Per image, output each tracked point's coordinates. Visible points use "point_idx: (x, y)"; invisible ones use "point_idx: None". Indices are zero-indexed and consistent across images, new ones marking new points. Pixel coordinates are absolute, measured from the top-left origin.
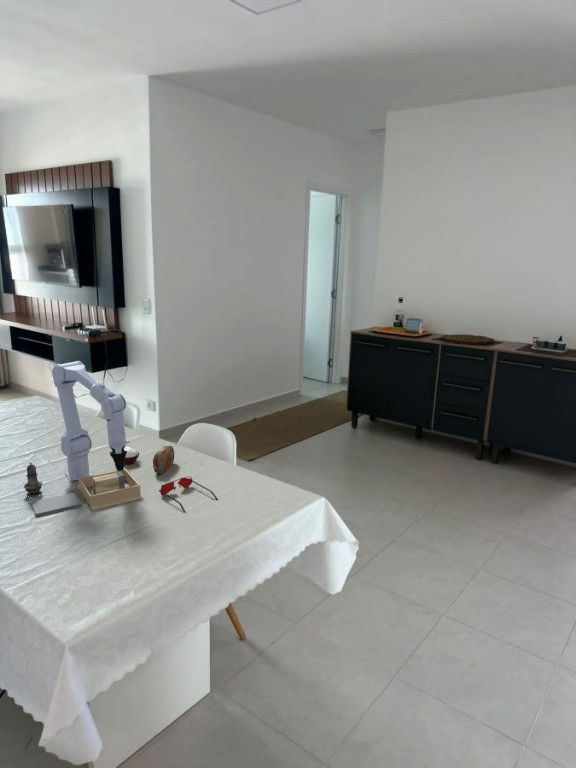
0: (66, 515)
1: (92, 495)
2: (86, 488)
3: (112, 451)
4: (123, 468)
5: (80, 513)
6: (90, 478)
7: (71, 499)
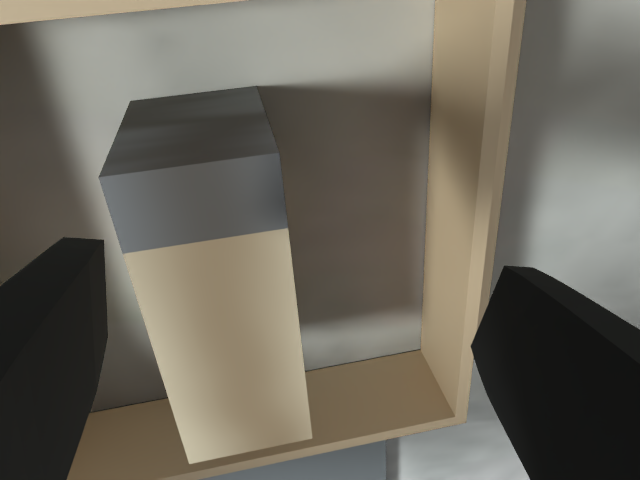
0: (450, 456)
1: (460, 409)
2: (299, 450)
3: None
4: (552, 279)
5: (472, 401)
6: None
7: (289, 467)
